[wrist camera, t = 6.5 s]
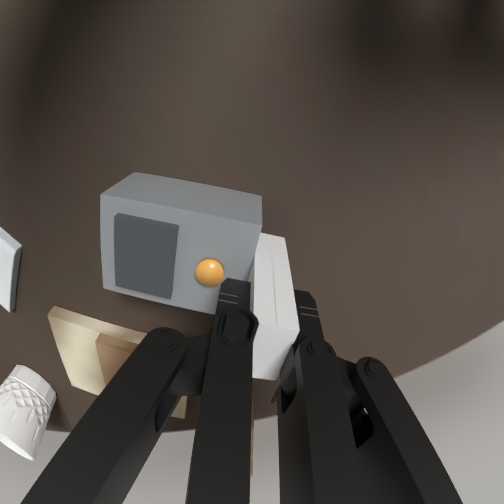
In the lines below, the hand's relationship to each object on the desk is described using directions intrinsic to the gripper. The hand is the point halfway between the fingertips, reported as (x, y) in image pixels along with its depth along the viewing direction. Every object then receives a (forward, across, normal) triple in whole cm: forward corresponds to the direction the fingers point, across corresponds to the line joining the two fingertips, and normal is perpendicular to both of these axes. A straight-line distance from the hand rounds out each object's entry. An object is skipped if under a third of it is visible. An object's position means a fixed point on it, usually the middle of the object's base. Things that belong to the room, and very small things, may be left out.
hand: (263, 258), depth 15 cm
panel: (+2, +9, +14) cm, 17 cm away
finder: (+2, +4, 0) cm, 5 cm away
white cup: (+2, +23, +25) cm, 34 cm away
